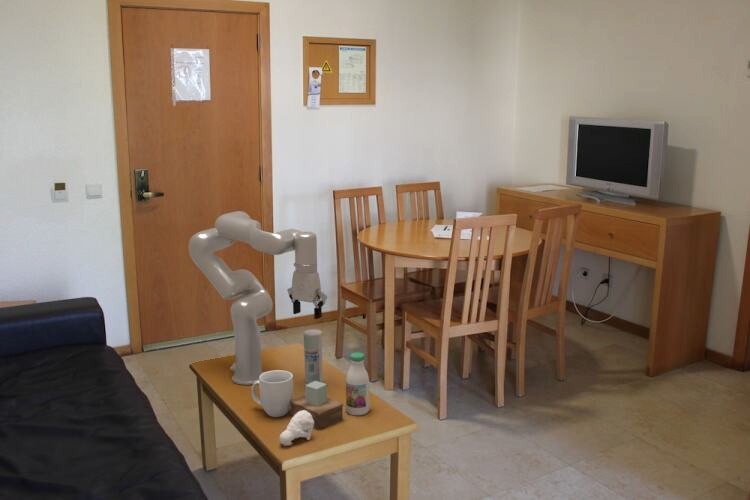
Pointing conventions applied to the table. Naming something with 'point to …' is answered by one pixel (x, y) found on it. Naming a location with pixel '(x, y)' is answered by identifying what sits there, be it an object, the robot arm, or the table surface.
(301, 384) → the table surface
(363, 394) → the milk bottle
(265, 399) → the mug
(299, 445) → the table surface
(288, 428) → the white animal figurine
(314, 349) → the spray can
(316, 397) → the block
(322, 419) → the walnut box
